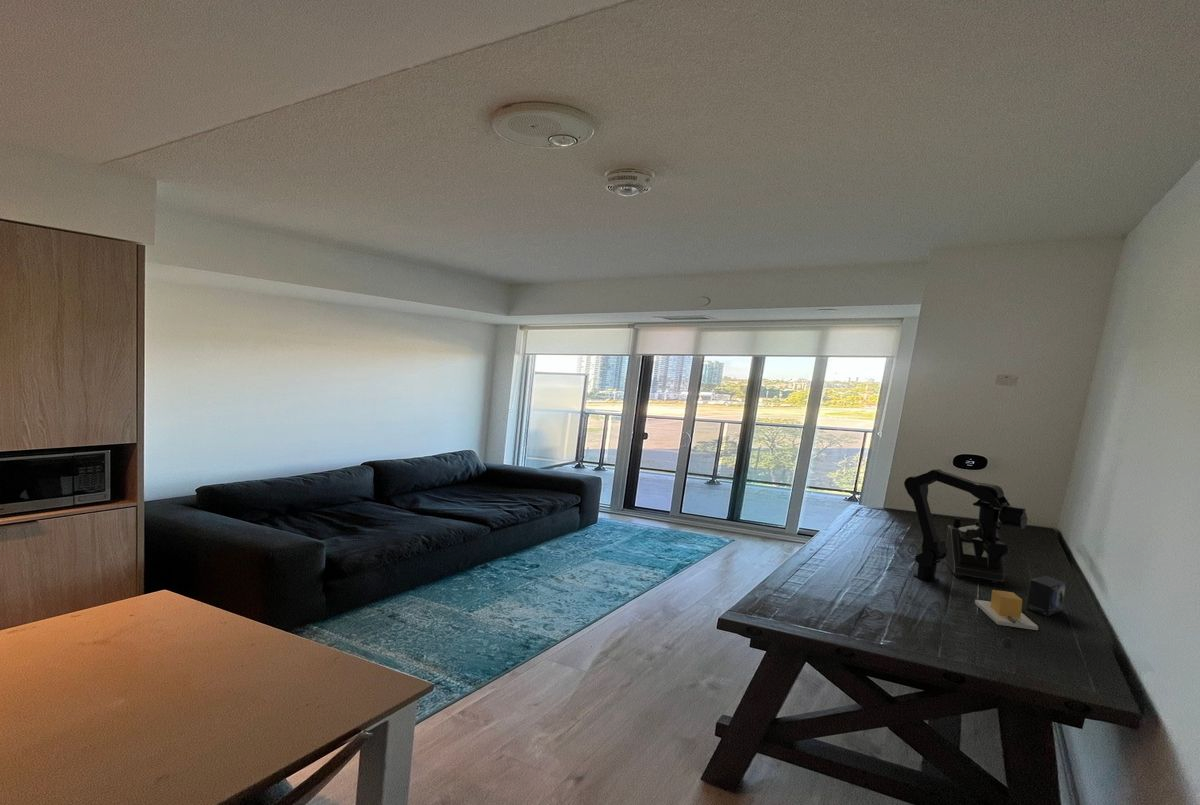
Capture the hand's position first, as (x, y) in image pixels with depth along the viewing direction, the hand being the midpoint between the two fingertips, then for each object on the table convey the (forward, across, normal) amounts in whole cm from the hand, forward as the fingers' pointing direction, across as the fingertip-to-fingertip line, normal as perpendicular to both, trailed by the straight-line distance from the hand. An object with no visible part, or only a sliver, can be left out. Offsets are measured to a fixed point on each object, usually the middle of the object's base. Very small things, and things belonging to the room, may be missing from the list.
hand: (983, 563), depth 189 cm
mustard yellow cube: (+11, +15, +1) cm, 19 cm away
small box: (+12, +5, +17) cm, 22 cm away
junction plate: (+12, +15, +1) cm, 19 cm away
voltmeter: (+12, -25, +7) cm, 29 cm away
